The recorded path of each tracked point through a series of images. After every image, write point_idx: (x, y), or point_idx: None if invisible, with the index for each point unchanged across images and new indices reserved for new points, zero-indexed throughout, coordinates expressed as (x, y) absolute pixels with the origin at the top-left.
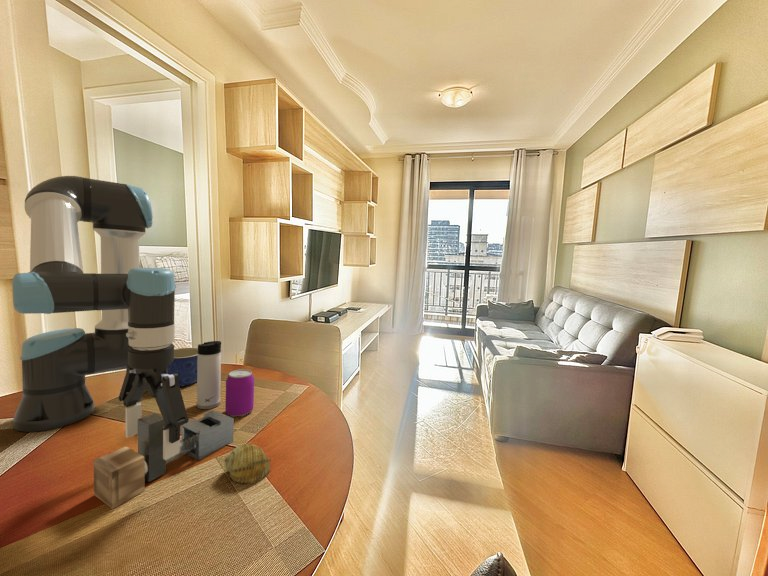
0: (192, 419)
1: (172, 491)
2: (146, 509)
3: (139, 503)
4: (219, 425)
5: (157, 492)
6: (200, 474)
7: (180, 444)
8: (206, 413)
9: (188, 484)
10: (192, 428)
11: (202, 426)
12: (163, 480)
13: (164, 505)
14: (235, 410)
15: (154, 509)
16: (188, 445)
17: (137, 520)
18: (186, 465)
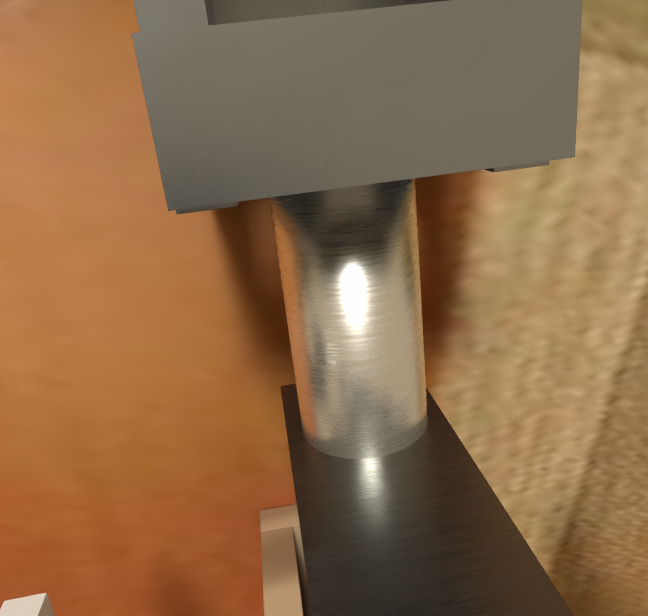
0: (148, 42)
1: (582, 386)
2: (590, 501)
3: (523, 511)
4: None
5: (520, 437)
6: (591, 215)
7: (398, 296)
8: None
9: (608, 307)
10: (412, 178)
11: (487, 59)
12: (448, 385)
13: (640, 444)
14: None
15: (622, 480)
16: (415, 222)
17: (619, 539)
18: (420, 231)
